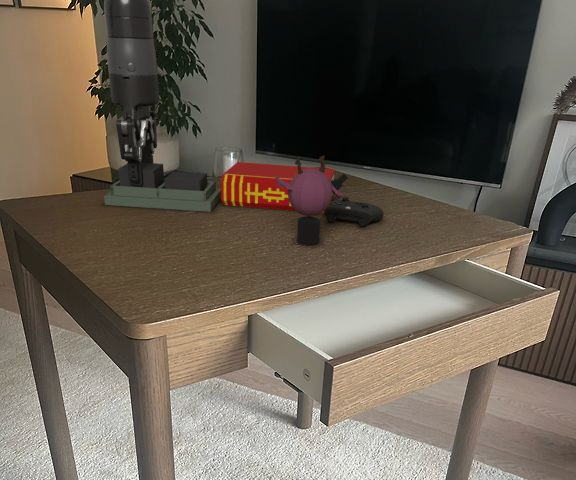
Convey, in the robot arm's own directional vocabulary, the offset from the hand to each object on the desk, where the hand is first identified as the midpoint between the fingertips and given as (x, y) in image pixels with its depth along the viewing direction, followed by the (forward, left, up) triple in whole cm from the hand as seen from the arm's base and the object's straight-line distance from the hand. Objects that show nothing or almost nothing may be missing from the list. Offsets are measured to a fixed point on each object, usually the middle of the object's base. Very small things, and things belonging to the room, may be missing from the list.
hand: (142, 180), depth 103 cm
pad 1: (0, 0, -1) cm, 1 cm away
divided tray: (+4, 0, -3) cm, 5 cm away
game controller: (+36, -5, -3) cm, 37 cm away
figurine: (+30, -18, -3) cm, 35 cm away
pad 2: (+8, 0, -2) cm, 8 cm away
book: (+23, +5, -3) cm, 24 cm away
